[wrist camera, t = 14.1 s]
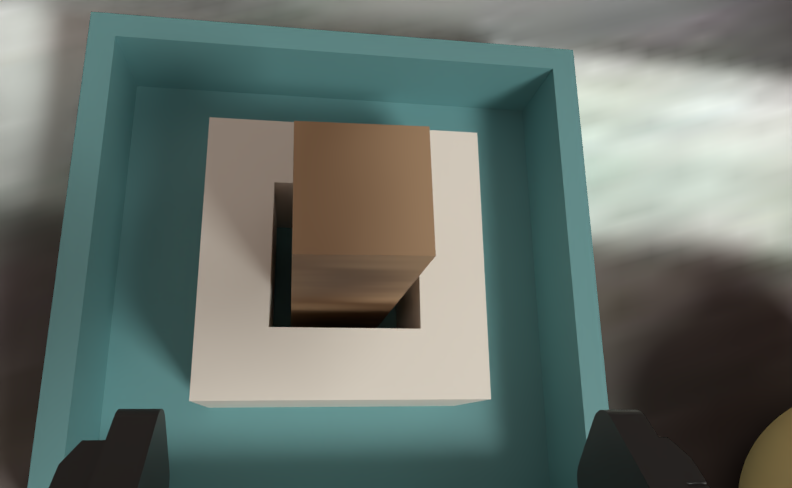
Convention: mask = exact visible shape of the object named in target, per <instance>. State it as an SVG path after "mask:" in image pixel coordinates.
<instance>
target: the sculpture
mask: <svg viewBox="0 0 792 488" xmlns="http://www.w3.org/2000/svg"><path fill="white" fill-rule="evenodd" d="M739 488H792V408H790V409H789V410H787V411H786V412H784V413H783V414H781V415H780V416H779V417H778V418H776V419H775V420H774V421H773V422H772V423H771V424H770V425H769V426H768V427H767V428H766V429H765V430H764V431H763V432H762V433H761V435H760V436H759V437H758V439H757V440H756V441H755V443H754V445H753V446H752V448H751V450H750V451H749V453H748V455H747V458H746V460H745V463H744V465H743V469H742V472H741V476H740V481H739Z"/></svg>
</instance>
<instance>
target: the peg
mask: <svg viewBox="0 0 792 488" xmlns="http://www.w3.org/2000/svg"><path fill="white" fill-rule="evenodd" d="M435 256H436V250H435V230H434V209H433V189H432V168H431V148H430V128H429V126H405V125H382V124H358V123H334V122H311V121H294V150H293V207H292V269H291V327H313V328H377V327H378V326H379V325H380V323H381V322H382V321H383V320H384V319H385V317H386V316H387V315H388V314H389V312H390V311H391V310H392V309H393V308H394V306H395V305H396V304H397V303H398V301H399V300H400V299H401V298H402V297H403V295H404V294H405V293H406V292H407V290H408V289H409V288H410V287H411V285H412V284H413V283H414V282H415V281H416V279H417V278H418V277H419V276H420V274H421V273H422V272H423V271H424V270H425V268H426V267H427V266H428V265H429V263H430V262H431V261H432V260H433V259H434V257H435Z"/></svg>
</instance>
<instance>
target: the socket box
mask: <svg viewBox="0 0 792 488" xmlns="http://www.w3.org/2000/svg"><path fill="white" fill-rule="evenodd" d="M294 121H311V122H334V123H358V124H382V125H405V126H429V128H430V148H431V168H432V189H433V209H434V230H435V250H436V256H435V257H434V259H433V260H432V261H431V262H430V263H429V265H428V266H427V267H426V268H425V270H424V271H423V272H422V273H421V274H420V276H419V277H418V278H417V279H416V281H415V282H414V283H413V284H412V285H411V287H410V288H409V289H408V290H407V292H406V293H405V294H404V295H403V297H402V298H401V299H400V300H399V301H398V303H397V304H396V305H395V306H394V308H393V309H392V310H391V311H390V312H389V314H388V315H387V316H386V317H385V319H384V320H383V321H382V322H381V323H380V325H379V326H378V327H377V328H313V327H291V269H292V207H293V150H294ZM118 409H163V410H164V413H165V421H166V433H167V445H168V457H169V470H170V480H169V488H578V485H577V470H578V465H579V461H580V458H581V455H582V452H583V449H584V446H585V443H586V440H587V437H588V434H589V431H590V428H591V425H592V422H593V419H594V416H595V414H596V413H597V412H598V411H599V410H609V407H608V397H607V387H606V377H605V367H604V357H603V347H602V337H601V327H600V317H599V307H598V296H597V286H596V276H595V266H594V256H593V246H592V236H591V226H590V216H589V206H588V196H587V186H586V176H585V166H584V156H583V146H582V136H581V126H580V116H579V106H578V96H577V86H576V76H575V66H574V56H573V50H566V49H553V48H541V47H528V46H516V45H503V44H490V43H478V42H465V41H453V40H440V39H428V38H415V37H402V36H390V35H377V34H365V33H352V32H340V31H327V30H315V29H302V28H289V27H277V26H264V25H252V24H239V23H227V22H214V21H201V20H189V19H176V18H164V17H151V16H139V15H126V14H114V13H101V12H91V16H90V23H89V31H88V38H87V46H86V53H85V61H84V68H83V76H82V83H81V91H80V98H79V106H78V113H77V121H76V128H75V135H74V143H73V150H72V158H71V165H70V173H69V180H68V188H67V195H66V203H65V210H64V218H63V225H62V233H61V240H60V248H59V255H58V263H57V270H56V278H55V285H54V292H53V300H52V307H51V315H50V322H49V330H48V337H47V345H46V352H45V360H44V367H43V375H42V382H41V390H40V397H39V405H38V412H37V420H36V427H35V434H34V442H33V449H32V457H31V464H30V472H29V479H28V487H27V488H49V486H50V483H51V481H52V479H53V476H54V474H55V472H56V469H57V467H58V465H59V463H60V462H61V461H62V460H63V459H64V458H65V457H66V456H67V455H68V454H69V453H70V452H71V451H72V450H73V449H74V448H75V447H76V446H77V445H78V444H79V443H80V442H81V441H82V440H106V437H107V434H108V432H109V429H110V426H111V423H112V420H113V418H114V415H115V413H116V411H117V410H118Z"/></svg>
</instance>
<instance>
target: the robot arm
mask: <svg viewBox="0 0 792 488" xmlns="http://www.w3.org/2000/svg"><path fill="white" fill-rule="evenodd" d="M169 480H170V470H169V457H168V445H167V433H166V421H165V413H164V410H163V409H118V410H117V411H116V413H115V415H114V418H113V420H112V423H111V426H110V429H109V432H108V434H107V437H106V440H82V441H81V442H80V443H79V444H78V445H77V446H76V447H75V448H74V449H73V450H72V451H71V452H70V453H69V454H68V455H67V456H66V457H65V458H64V459H63V460H62V461H61V462H60V463H59V465H58V467H57V469H56V472H55V474H54V476H53V479H52V481H51V483H50V486H49V488H169ZM577 485H578V488H710V486H707V485H706V480H705V479H704V477H703V476H702V474H701V473H700V471H699V469H698V468H697V466H696V465H695V463H694V462H693V460H692V459H691V458H690V457H689V456H688V455H687V454H686V453H685V452H684V451H682V450H681V449H680V448H679V447H678V446H677V445H676V444H674V443H673V442H672V441H671V440H670V439H669V438H668V437H658V436H657V434H656V433H655V431H654V430H653V428H652V426H651V425H650V423H649V421H648V420H647V418H646V417H645V415H644V414H643V413H642V412H641V411H639V410H599V411H598V412H597V413H596V414H595V416H594V419H593V422H592V425H591V428H590V431H589V434H588V437H587V440H586V443H585V446H584V449H583V452H582V455H581V458H580V461H579V465H578V470H577Z"/></svg>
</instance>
